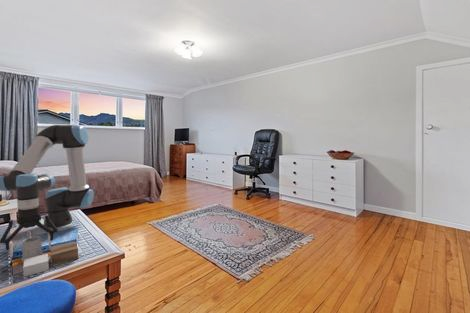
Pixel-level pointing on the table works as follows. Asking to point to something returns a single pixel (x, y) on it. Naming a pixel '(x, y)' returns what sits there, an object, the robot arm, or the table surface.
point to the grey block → (35, 264)
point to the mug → (31, 247)
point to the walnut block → (64, 253)
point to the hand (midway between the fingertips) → (31, 251)
